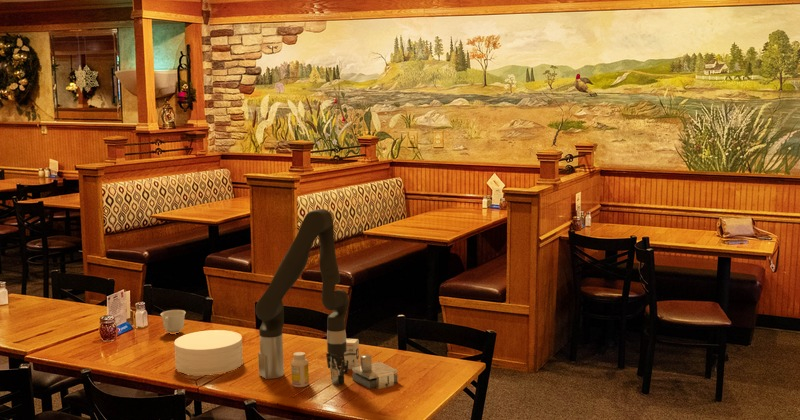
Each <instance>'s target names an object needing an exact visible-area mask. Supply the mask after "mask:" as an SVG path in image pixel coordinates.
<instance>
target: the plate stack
mask: <svg viewBox="0 0 800 420" xmlns="http://www.w3.org/2000/svg"><path fill="white" fill-rule="evenodd" d="M242 341H243V335H241V334H240V333H238V332H236V331H233V330H232V331H231V330H223V329H214V330H213V329H211V330H210V329H208V330H201V331H195V332H189V333H187V334H184V335H181V336H178V337H177V338H176V339H175V340H174V343H173V344H174V345H173V346H174V357H175V358H174V360H175V361H174V363H175V370H176V369H177V370H178V371H179V372H182V373H185V374H189V375H210V374H218V373H224V372H228V371H231V370H234V369H236V368H238V367H240V366H241V365H242V366H243V364H244V359H243V357H244V355H243V352H244V351H243V342H242ZM242 366H241V367H242ZM241 367H240V368H241ZM238 369H239V368H238ZM177 370H176V371H177ZM236 370H237V369H236ZM178 371H177V372H178ZM234 371H235V370H234ZM179 372H178V373H179ZM231 372H232V371H231ZM228 373H229V372H228ZM224 374H225V373H224ZM189 375H188V376H189Z"/></svg>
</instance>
